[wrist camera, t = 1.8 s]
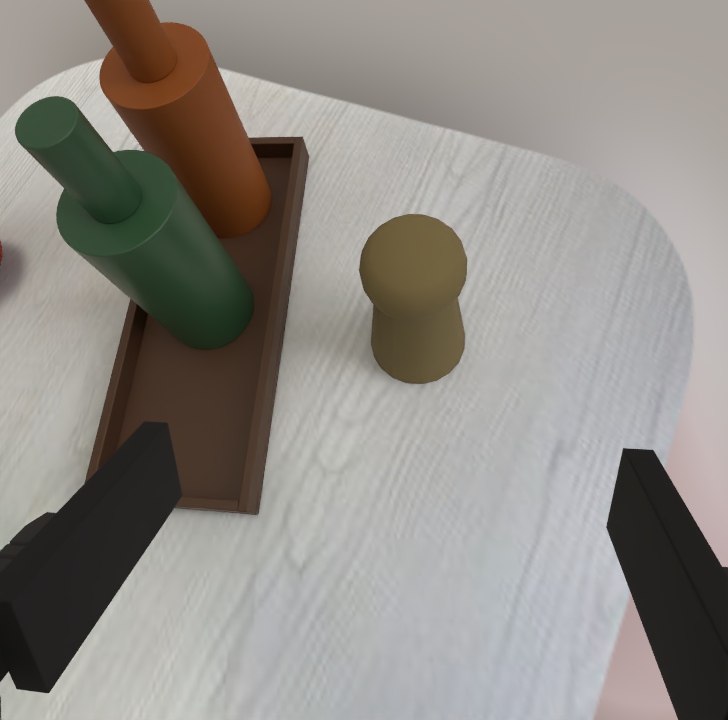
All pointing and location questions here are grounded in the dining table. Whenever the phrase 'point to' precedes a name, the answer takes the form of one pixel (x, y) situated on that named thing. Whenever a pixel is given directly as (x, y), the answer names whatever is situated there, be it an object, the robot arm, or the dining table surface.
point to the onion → (0, 252)
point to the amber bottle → (182, 113)
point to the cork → (415, 297)
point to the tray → (216, 362)
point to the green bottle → (138, 227)
